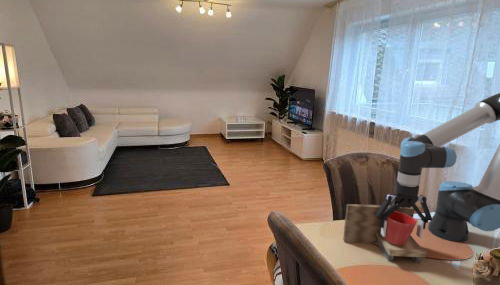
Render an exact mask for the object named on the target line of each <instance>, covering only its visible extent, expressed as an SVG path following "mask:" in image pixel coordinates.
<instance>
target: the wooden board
mask: <svg viewBox="0 0 500 285" xmlns="http://www.w3.org/2000/svg"><path fill="white" fill-rule="evenodd" d="M381 205H382V204H359V203H357V204H356V203H354V204H353V203H352V204H351V203H346V208H345V219H344V228H343V236H342V237H343V238H342V240H343V242H344V243H350V244H351V243H352V244H353V243H355V244H375V243H377V240H378V238H377V236H376V234H377V233H381V227H380V225H379V224H380V219H378V218H377V217H376V215H375V214H376V212H377V211H378V209H379V208H380V206H381ZM390 206H391V205H389V206H388V208H389V207H390ZM388 208H387V209H388ZM387 209H386V210H387ZM395 211H397V212H401V213H404V214H407V215H409V216H411V217H412V218H414V214H415V210H414V209H413V207H410V208H407V207H405V208H402V207H400V208H399V209H396V210H395ZM375 245H376V244H375Z"/></svg>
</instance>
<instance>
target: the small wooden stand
mask: <svg viewBox="0 0 500 285" xmlns="http://www.w3.org/2000/svg"><path fill="white" fill-rule="evenodd" d="M376 236H377V238H378V240H377V247H378V248H379V250H380V251H381V252H382V253H383V255H384V256H385V258H386V260H387V261H388V262H393V261H394V260H393V259H394V257H408V258H411V259H412V260H413V262H415V263H421V259H422V258H427V254H428V251H427V249H424V248H422V247H421V246H420V244H419V243H418V242H417V241H416V240H415V238H414V237H413V236H412V234H411V235H410V237H409V238H408V240H407V242H406V244H405V245H395V244H392V243H390V242H388V241H387V240H386V239H385V238H384V237H383V236H382V234H381V233H377V234H376Z"/></svg>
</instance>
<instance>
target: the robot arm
mask: <svg viewBox="0 0 500 285" xmlns="http://www.w3.org/2000/svg"><path fill="white" fill-rule="evenodd" d="M497 121H500V92H499V93H496V94H494V95H491V96H489V97H486V98H485V99H482V100H480V101H478V102H477V103H475V104H474V107H472V108H470V109H469V110H466V111H464V112H463V113H461V114H459V115H457V116H455V117H453V118H451V119H450V120H448V121H446V122H443V123H442V124H440V125H438V126H437V127H434V128H432V129H430V130H428V131H426V132H425V133H423V134H421V135H419V136H417V137H411V136H410V137H409V136H408V137H406V138H404V139H403V140H402V141H401V143H400V152H399V164H398V171H397V177H396V181H397V182H396V186H395V194H394V195H392V194H389V193H386V194H385V198H384V201H383V202H382V204H380V205H381V206H380V208H379V209H378V211H377V212H376V214H375V215H376V217H377V218H378V219H380V224H379V225H380V227H381V234H382V236H383V237H385V234H386V226H387V220H386V219H387V218H388V217H389V216H390V215H391V214H392V213H393V212H394V211H395V210H396V209H399V208H400V207H402V208H405V207H407V208H410V207H413V209H414V212H415V213H416V214H417V215H418V216H419V218H418V220H417V224H416V225H417V226H416V233H415V234H416V237H418V238H419V239H422V236H423V230H426V224H427V223H428V226H427V227H428V228H427V229H428V231H429V232H430V233H432V234H433V235H434V236H436V237H438V238H441V239H444V240H446V241H447V240H448V241H453V242H464V241H465V242H466V241H468V239H469V236H470V232H469V227H468V224H470V225H471V226H472V227H474V228H477V229H479V231H483V232H494V231H495V230H499V229H500V143H499V144H498V146H497V148H496V151H495V152H494V154H493V156H492V158H491V160H490V162H489V164H488V165H487V167H486V170H485V172H484V173H483V176H482V178H481V179H480V181H479V184H478V185H477V186H473V185H472V184H471V183H467V182H461V181H450V180H449V181H443V182H440V185H439V188H438V193H437V200H436V206H435V212H434V214H433V215H431V211H430V209H429V207H428V204H427V197H426V196H425V195H423V194H420V195H419V191H420V186H419V185H420V184H421V177H422V171H423V169H440V168H441V169H446V168H451V167H453V166H454V165H456V163H457V157H458V156H457V153H456V151H455V149H454V148H452V147H448V146H444V145H446V144H448V143H450V142H452V141H454V140H456V139H458V138H459V137H463V136H464V135H465V134H468V133H469V132H471V131H474V130H475V129H477V128H480V127H481V126H484V125H485V124H488V125H489V124H490V125H491V124H493V123H495V122H497ZM418 201H419V202H420V205H421V208H422V211H423V213H422V211H421V210H420V208H419V207H418V205H416V203H417V202H418ZM391 203H392V204H391ZM388 206H390V207H389V208H388ZM387 208H388V209H387ZM386 209H387V210H386Z"/></svg>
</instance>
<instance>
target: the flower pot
mask: <svg viewBox="0 0 500 285" xmlns="http://www.w3.org/2000/svg"><path fill="white" fill-rule="evenodd" d="M386 220H387V226H386V234H385V237H384V238H385V239H386V240H387V241H388V242H390V243H392V244H395V245H405V244H406V242H407V240H408V238H409V237H410V235H411V236H412V234H413V233H412V232H413V231H414V229H415V227H416V225H417V220H416V219H415V218H414V217H413V218H412V217H411V216H409V215H407V214H404V213H401V212H397V211H394V212H393V213H392V214H391V215H390V216H389V217H388V218H387V219H386Z"/></svg>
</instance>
